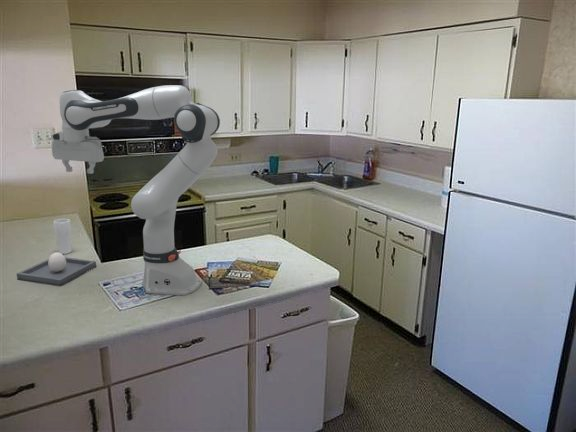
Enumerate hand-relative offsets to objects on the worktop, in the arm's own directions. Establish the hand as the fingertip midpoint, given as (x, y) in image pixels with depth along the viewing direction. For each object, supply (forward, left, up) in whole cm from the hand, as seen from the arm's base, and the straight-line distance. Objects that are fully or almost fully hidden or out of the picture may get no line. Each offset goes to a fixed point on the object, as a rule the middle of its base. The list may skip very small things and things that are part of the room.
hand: (79, 172), depth 166 cm
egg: (+12, +4, -40) cm, 42 cm away
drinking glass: (+26, -16, -41) cm, 51 cm away
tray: (+12, +4, -41) cm, 43 cm away
